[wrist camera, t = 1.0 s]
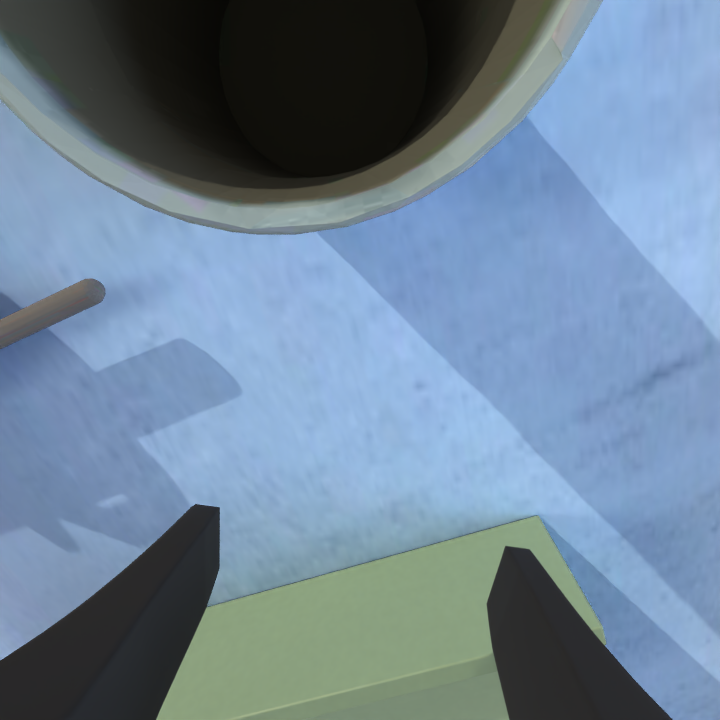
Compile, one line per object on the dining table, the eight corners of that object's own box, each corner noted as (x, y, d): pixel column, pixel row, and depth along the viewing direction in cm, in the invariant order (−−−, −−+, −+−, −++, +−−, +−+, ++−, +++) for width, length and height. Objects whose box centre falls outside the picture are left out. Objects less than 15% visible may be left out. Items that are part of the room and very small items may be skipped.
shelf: (242, 723, 28) (210, 870, 22) (175, 615, 25) (117, 748, 19) (570, 641, 26) (637, 777, 20) (538, 514, 23) (603, 626, 17)
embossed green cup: (245, 246, 19) (81, 314, 8) (134, -44, 16) (-428, -663, 4) (489, 165, 18) (714, 106, 7) (421, -160, 15) (629, -1307, 4)
